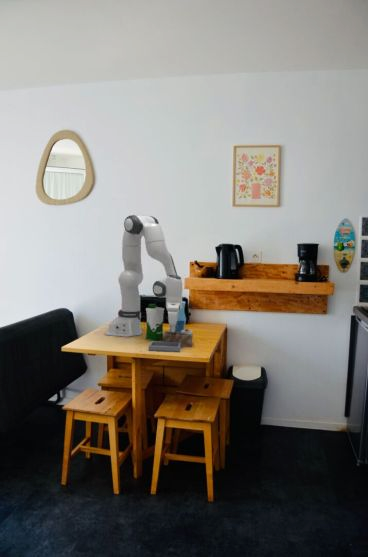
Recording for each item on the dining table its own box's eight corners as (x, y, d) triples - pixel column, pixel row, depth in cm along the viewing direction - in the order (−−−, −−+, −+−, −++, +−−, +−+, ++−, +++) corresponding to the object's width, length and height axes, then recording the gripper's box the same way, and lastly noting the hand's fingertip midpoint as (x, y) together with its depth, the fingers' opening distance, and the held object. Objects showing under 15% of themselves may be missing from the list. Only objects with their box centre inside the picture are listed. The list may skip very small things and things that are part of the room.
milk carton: (152, 336, 243) (153, 302, 241) (165, 338, 238) (166, 304, 236) (143, 339, 236) (144, 304, 234) (156, 341, 231) (157, 306, 229)
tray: (148, 350, 212) (148, 346, 212) (151, 345, 222) (151, 341, 222) (179, 352, 211) (179, 347, 211) (180, 346, 221) (180, 342, 221)
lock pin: (169, 343, 225) (170, 321, 223) (170, 341, 228) (170, 319, 227) (176, 343, 224) (176, 321, 223) (176, 341, 228) (177, 320, 227)
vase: (179, 332, 255) (180, 300, 253) (185, 335, 248) (186, 302, 246) (168, 333, 252) (169, 300, 250) (173, 336, 245) (174, 302, 243)
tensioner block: (163, 346, 222) (163, 330, 221) (164, 341, 231) (165, 326, 230) (191, 347, 221) (192, 331, 221) (192, 342, 230) (192, 327, 229)
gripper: (169, 301, 235) (169, 325, 236) (166, 307, 214) (166, 333, 216) (181, 302, 234) (180, 325, 236) (178, 308, 214) (178, 334, 215)
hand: (173, 329), depth 226 cm, fingers open, 7 cm apart
